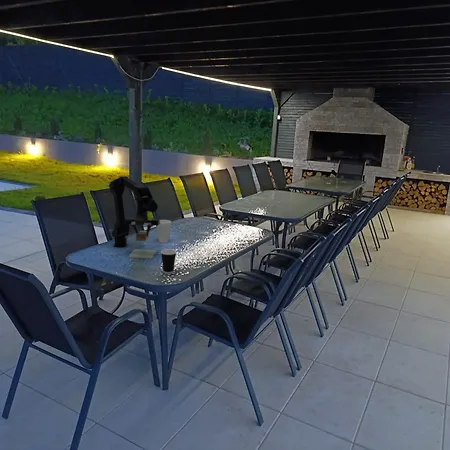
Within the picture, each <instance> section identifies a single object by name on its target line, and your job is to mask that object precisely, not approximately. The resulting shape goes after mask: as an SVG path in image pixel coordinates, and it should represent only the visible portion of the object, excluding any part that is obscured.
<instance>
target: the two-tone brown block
mask: <svg viewBox="0 0 450 450" xmlns="http://www.w3.org/2000/svg"><path fill="white" fill-rule="evenodd" d="M138 232H139V233H138V234H136V235H135V241H137V242H140V241H142V242H145V241H147V239H148V238H149V235H150V233H149V234H148V236H147V230H140V231H139V230H138Z"/></svg>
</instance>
